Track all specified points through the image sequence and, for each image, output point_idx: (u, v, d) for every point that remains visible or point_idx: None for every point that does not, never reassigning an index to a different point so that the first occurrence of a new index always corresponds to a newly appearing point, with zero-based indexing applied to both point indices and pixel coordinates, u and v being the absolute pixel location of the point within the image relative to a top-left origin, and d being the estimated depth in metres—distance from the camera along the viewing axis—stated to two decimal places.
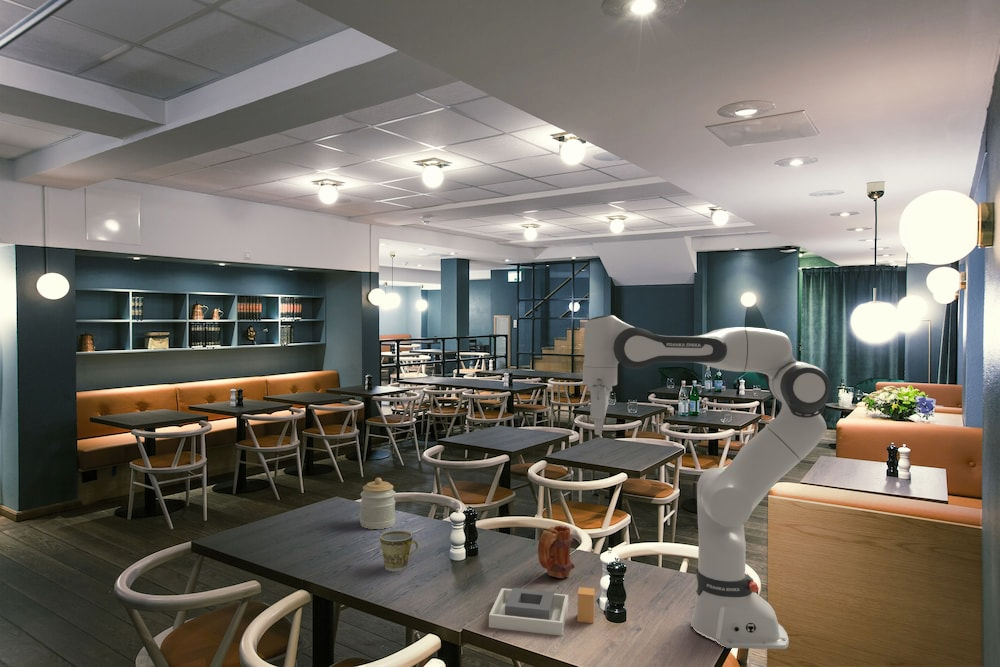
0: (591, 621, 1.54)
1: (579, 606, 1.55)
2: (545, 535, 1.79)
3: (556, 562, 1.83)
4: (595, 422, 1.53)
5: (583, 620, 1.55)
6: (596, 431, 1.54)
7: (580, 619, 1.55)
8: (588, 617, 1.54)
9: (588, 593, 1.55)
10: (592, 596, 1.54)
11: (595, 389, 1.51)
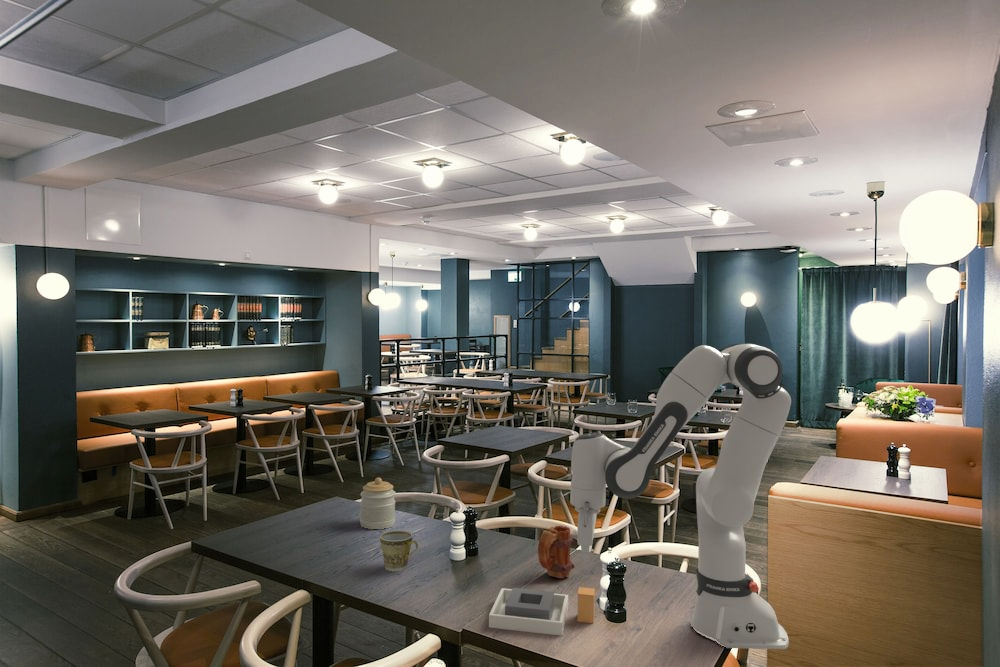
0: (591, 621, 1.54)
1: (579, 606, 1.55)
2: (545, 535, 1.79)
3: (556, 562, 1.83)
4: (582, 547, 1.50)
5: (583, 620, 1.55)
6: (583, 555, 1.51)
7: (580, 619, 1.55)
8: (588, 617, 1.54)
9: (588, 593, 1.55)
10: (592, 596, 1.54)
11: (582, 515, 1.48)
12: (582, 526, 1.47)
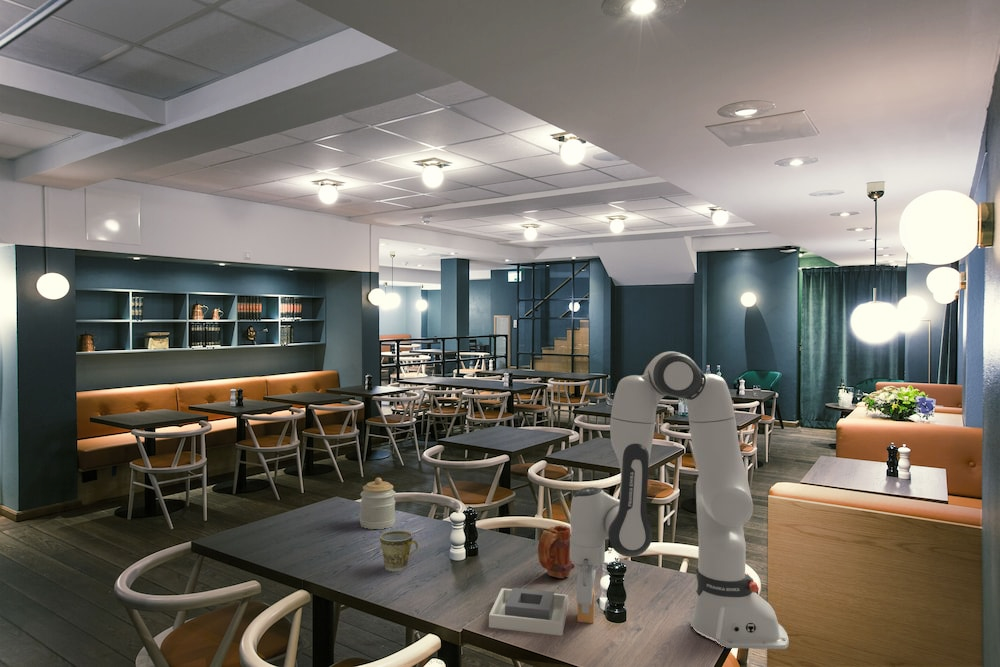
0: (591, 621, 1.54)
1: (579, 606, 1.55)
2: (545, 535, 1.79)
3: (556, 562, 1.83)
4: None
5: (583, 620, 1.55)
6: (583, 609, 1.53)
7: (580, 619, 1.55)
8: (588, 617, 1.54)
9: None
10: None
11: (581, 574, 1.48)
12: (581, 585, 1.47)
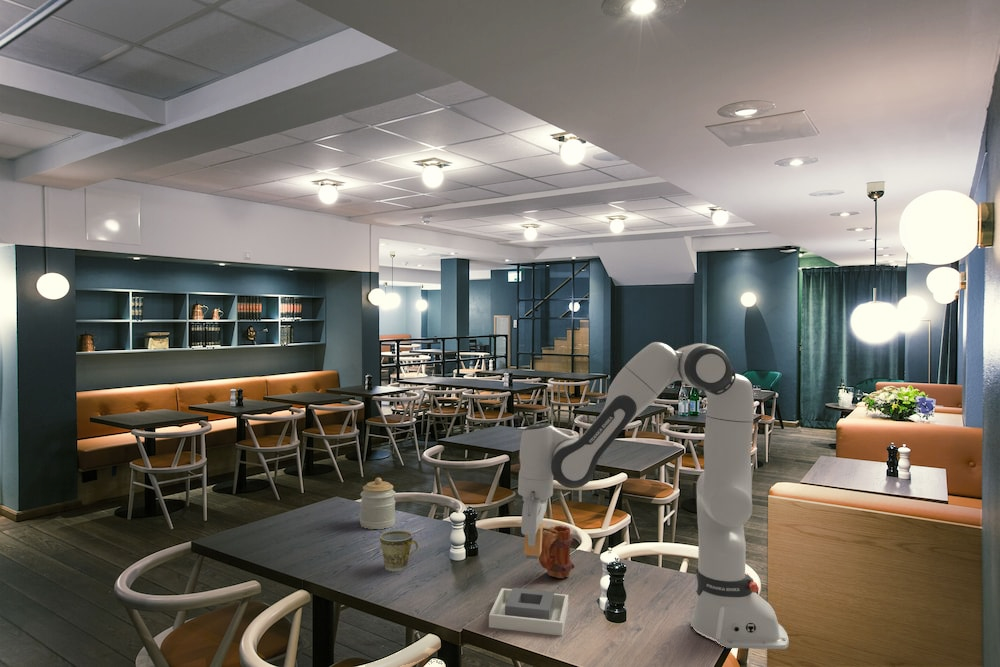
0: (537, 554, 1.55)
1: (526, 539, 1.55)
2: (545, 535, 1.79)
3: (556, 562, 1.83)
4: None
5: (529, 553, 1.55)
6: (529, 542, 1.54)
7: (526, 552, 1.55)
8: (534, 551, 1.55)
9: None
10: (539, 529, 1.55)
11: (527, 505, 1.48)
12: (526, 515, 1.48)
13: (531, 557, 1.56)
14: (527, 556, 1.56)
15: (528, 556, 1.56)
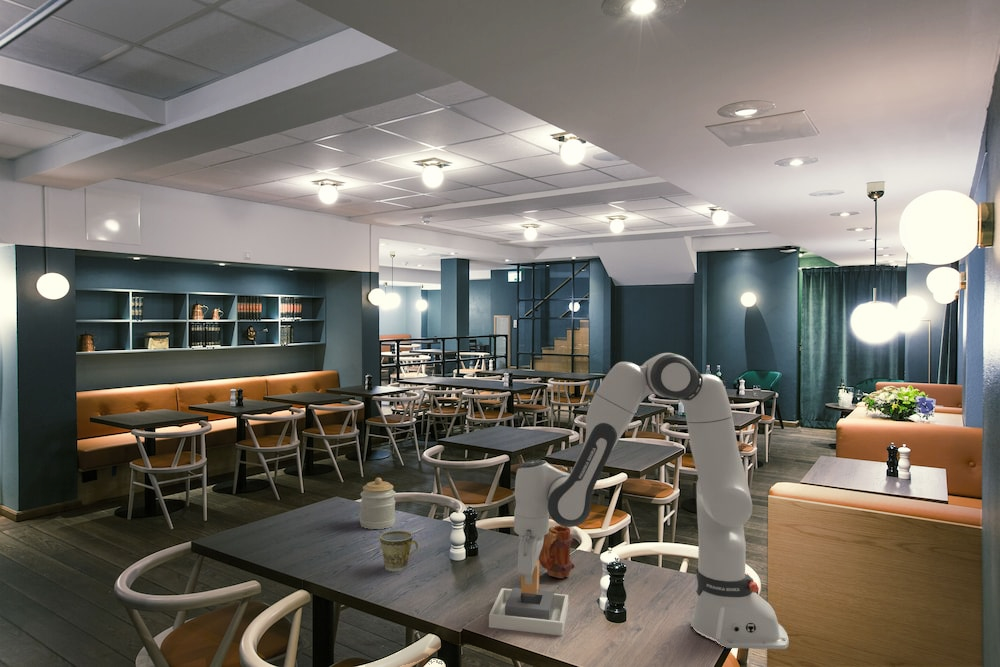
0: (534, 592, 1.55)
1: (523, 577, 1.55)
2: (545, 535, 1.79)
3: (556, 562, 1.83)
4: None
5: (526, 591, 1.55)
6: (526, 580, 1.54)
7: (523, 590, 1.55)
8: (531, 588, 1.55)
9: None
10: (535, 567, 1.55)
11: (523, 544, 1.49)
12: (522, 555, 1.48)
13: (528, 595, 1.56)
14: (524, 594, 1.56)
15: (525, 594, 1.56)
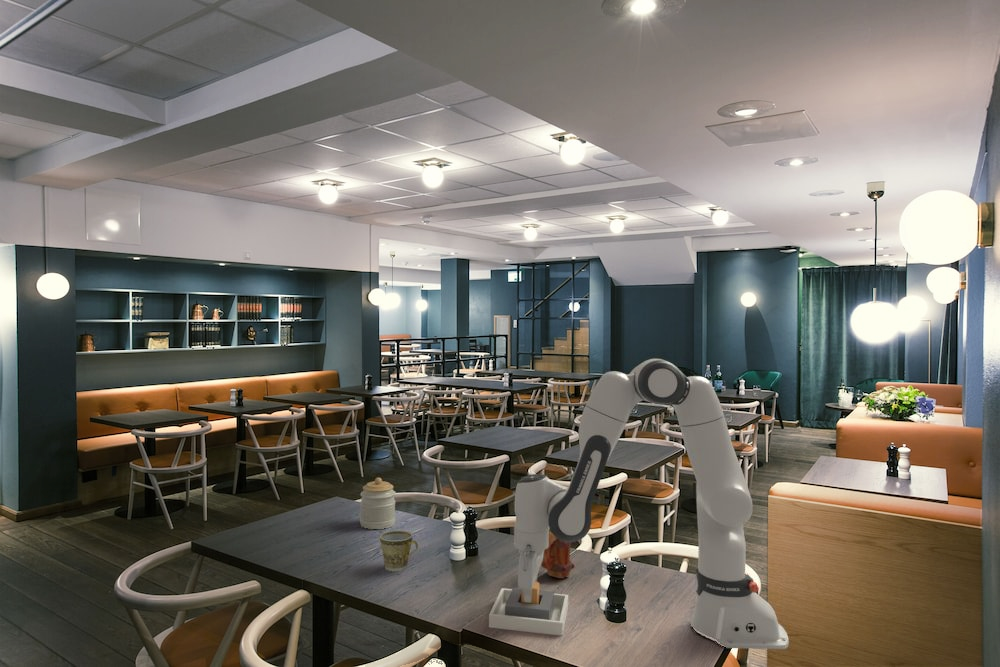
0: None
1: (523, 600, 1.55)
2: None
3: (556, 562, 1.83)
4: (524, 590, 1.51)
5: None
6: (525, 598, 1.52)
7: None
8: None
9: None
10: (535, 590, 1.55)
11: (523, 559, 1.49)
12: (522, 570, 1.48)
13: None
14: None
15: None
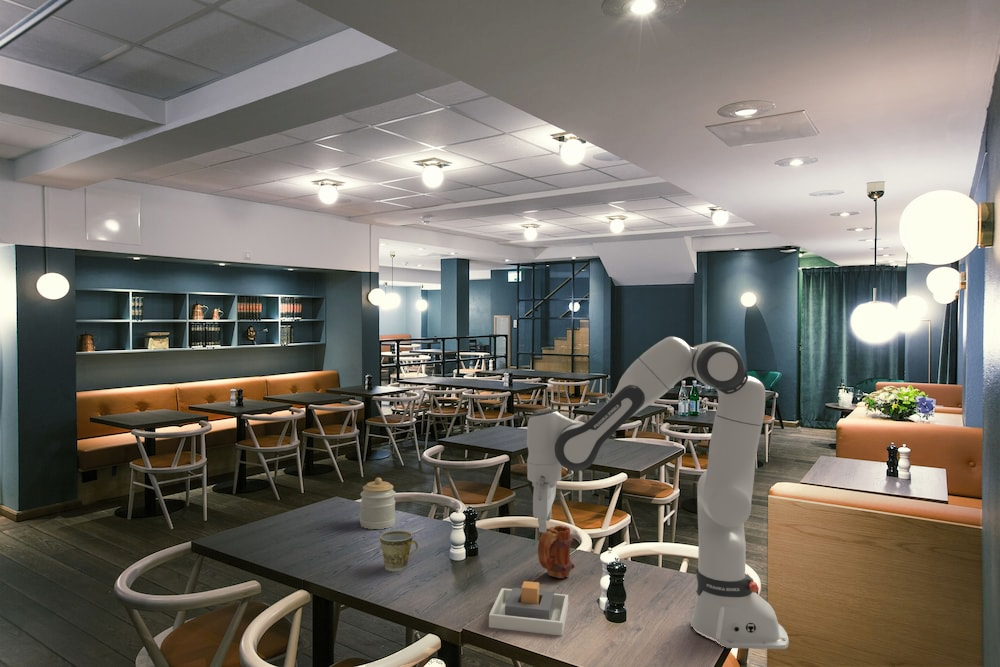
0: None
1: (523, 600, 1.55)
2: (545, 535, 1.79)
3: (556, 562, 1.83)
4: (539, 520, 1.54)
5: None
6: (540, 529, 1.55)
7: None
8: None
9: (532, 586, 1.56)
10: (535, 590, 1.55)
11: (537, 489, 1.52)
12: (537, 499, 1.51)
13: None
14: None
15: None
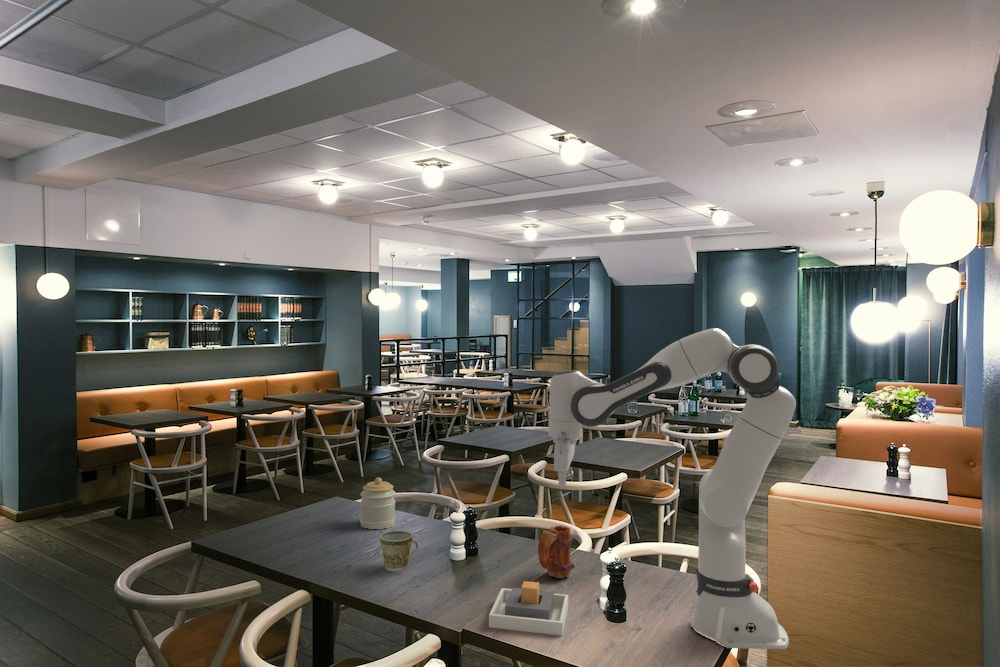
0: None
1: (523, 600, 1.55)
2: (545, 535, 1.79)
3: (556, 562, 1.83)
4: (559, 474, 1.61)
5: None
6: (560, 482, 1.62)
7: None
8: None
9: (532, 586, 1.56)
10: (535, 590, 1.55)
11: (558, 443, 1.59)
12: (558, 453, 1.58)
13: None
14: None
15: None
